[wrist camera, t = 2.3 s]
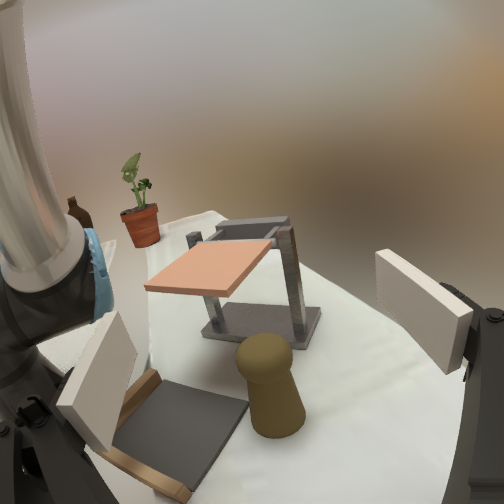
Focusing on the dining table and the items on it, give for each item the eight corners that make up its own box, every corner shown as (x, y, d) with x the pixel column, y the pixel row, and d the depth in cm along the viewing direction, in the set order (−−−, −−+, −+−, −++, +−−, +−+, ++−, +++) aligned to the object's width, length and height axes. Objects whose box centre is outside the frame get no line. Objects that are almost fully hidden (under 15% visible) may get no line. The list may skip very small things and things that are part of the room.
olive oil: (108, 253, 109) (89, 190, 100) (91, 264, 99) (69, 198, 91) (90, 255, 112) (71, 196, 103) (73, 266, 102) (53, 204, 94)
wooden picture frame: (91, 449, 27) (80, 437, 26) (155, 380, 39) (149, 367, 38) (184, 504, 21) (175, 495, 20) (248, 405, 33) (244, 392, 32)
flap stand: (228, 307, 55) (206, 221, 50) (321, 313, 48) (308, 213, 42) (202, 337, 48) (172, 241, 42) (305, 349, 40) (289, 236, 35)
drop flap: (227, 244, 50) (221, 220, 49) (295, 241, 45) (291, 215, 43) (151, 309, 34) (140, 280, 33) (237, 320, 29) (227, 284, 28)
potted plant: (174, 233, 115) (152, 143, 102) (152, 248, 101) (125, 148, 89) (144, 236, 120) (122, 153, 108) (121, 251, 107) (95, 160, 95)
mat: (107, 446, 28) (105, 443, 28) (165, 382, 39) (164, 379, 38) (193, 491, 22) (191, 489, 22) (249, 404, 33) (248, 401, 33)
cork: (245, 436, 28) (218, 364, 25) (257, 397, 34) (237, 324, 30) (302, 439, 27) (289, 366, 23) (308, 397, 32) (298, 322, 28)
